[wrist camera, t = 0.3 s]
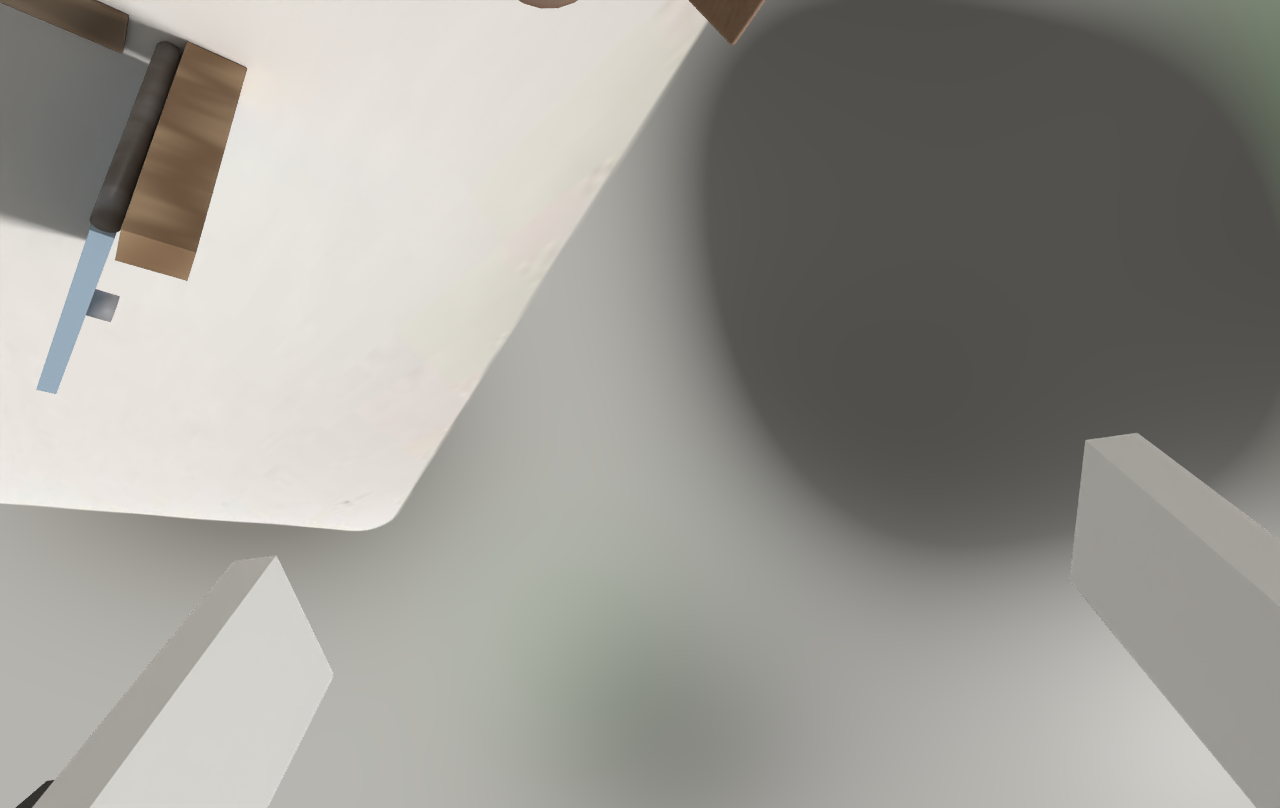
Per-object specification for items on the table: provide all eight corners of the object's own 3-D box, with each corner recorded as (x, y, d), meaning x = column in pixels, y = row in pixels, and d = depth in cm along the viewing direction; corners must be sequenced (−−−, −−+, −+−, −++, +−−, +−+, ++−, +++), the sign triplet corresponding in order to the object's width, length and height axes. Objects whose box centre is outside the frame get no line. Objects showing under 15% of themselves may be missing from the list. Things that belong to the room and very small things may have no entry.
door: (150, 71, 40) (89, 229, 34) (197, 94, 42) (147, 249, 36) (90, 246, 51) (36, 389, 45) (129, 259, 52) (82, 400, 47)
